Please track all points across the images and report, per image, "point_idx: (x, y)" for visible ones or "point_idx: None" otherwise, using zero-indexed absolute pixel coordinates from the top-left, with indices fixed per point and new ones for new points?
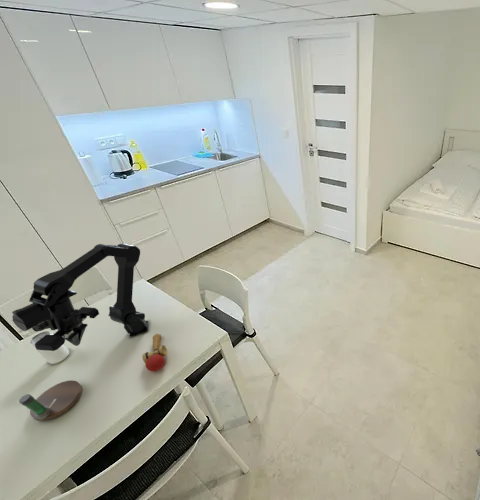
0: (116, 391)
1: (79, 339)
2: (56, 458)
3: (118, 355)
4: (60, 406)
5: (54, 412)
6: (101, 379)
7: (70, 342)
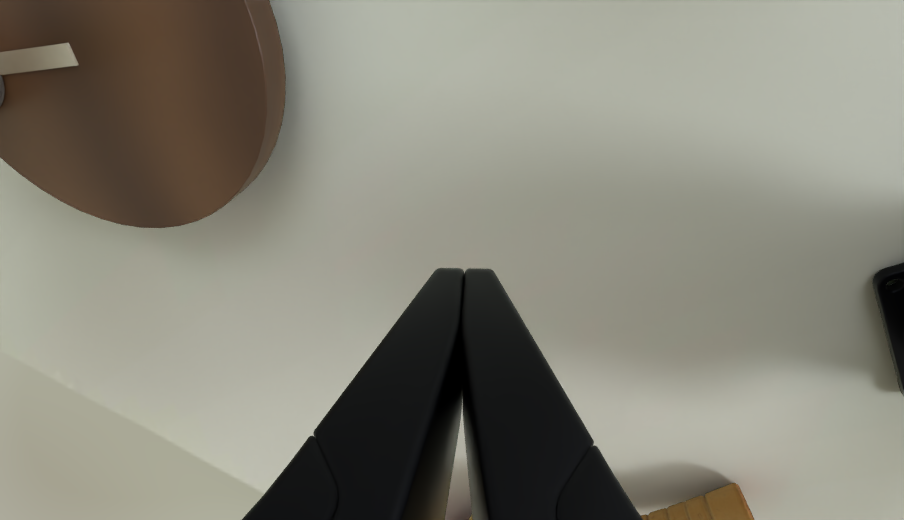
0: (299, 385)
1: (472, 509)
2: None
3: (616, 263)
4: (55, 155)
5: (6, 145)
6: (368, 250)
7: (365, 371)
